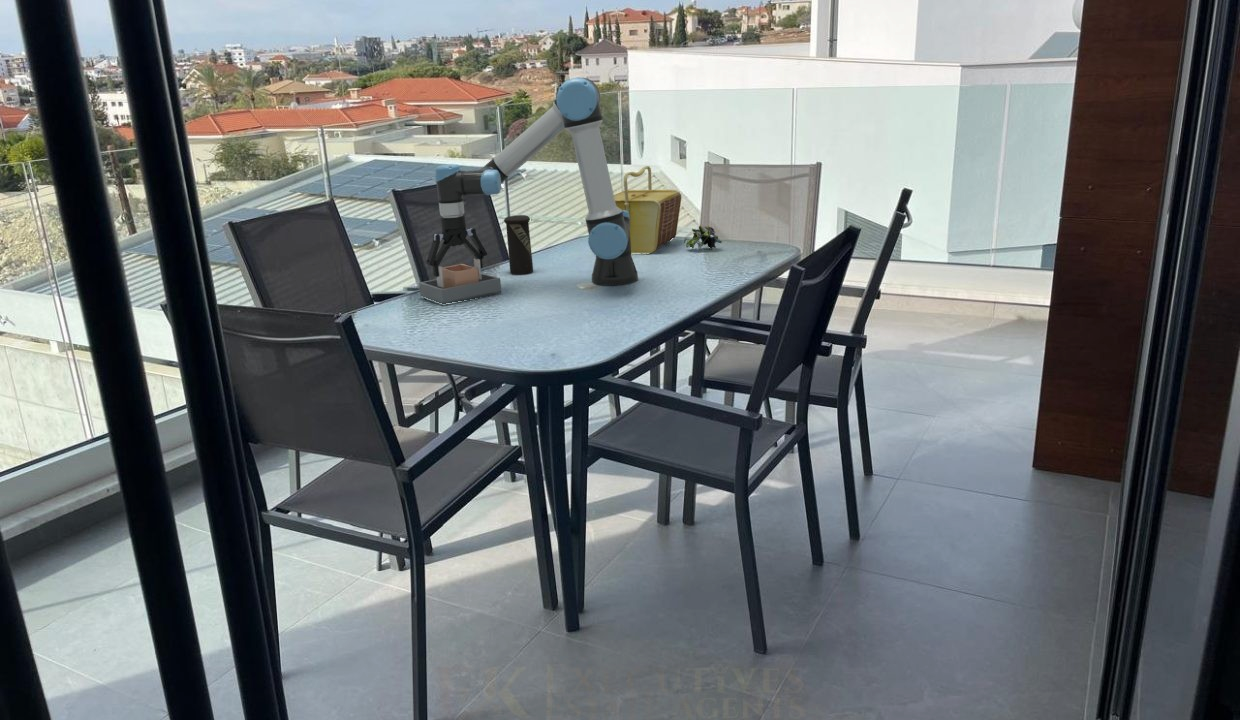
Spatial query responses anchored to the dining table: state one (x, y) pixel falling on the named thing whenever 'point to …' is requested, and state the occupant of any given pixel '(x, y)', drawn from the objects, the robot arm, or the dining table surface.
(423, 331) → the dining table surface
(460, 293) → the grey tray
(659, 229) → the picnic basket
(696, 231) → the passion flower
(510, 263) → the container
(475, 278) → the small crate
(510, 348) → the dining table surface
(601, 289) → the dining table surface
